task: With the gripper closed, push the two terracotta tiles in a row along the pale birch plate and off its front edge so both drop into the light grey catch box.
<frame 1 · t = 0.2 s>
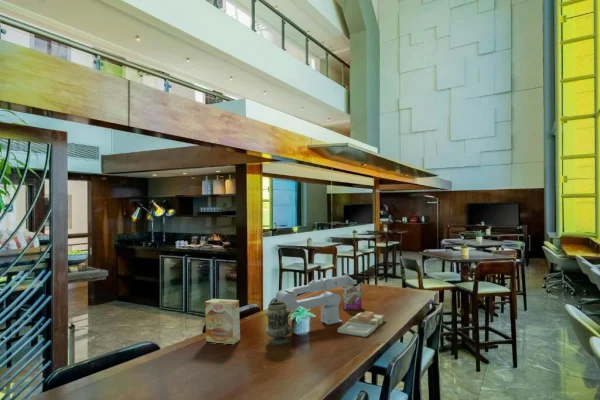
hand: (359, 277, 211), 21 cm above the table, tool horizontal, fingers open, 7 cm apart
carved stone vase: (279, 342, 173), on the table
coffeecake box: (223, 342, 176), on the table
front tile: (364, 319, 193), point 3 cm above the table, touching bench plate
back tile: (367, 316, 198), point 3 cm above the table, touching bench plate
catch box: (356, 330, 184), on the table
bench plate: (367, 323, 196), on the table
candy bar box: (352, 309, 225), on the table
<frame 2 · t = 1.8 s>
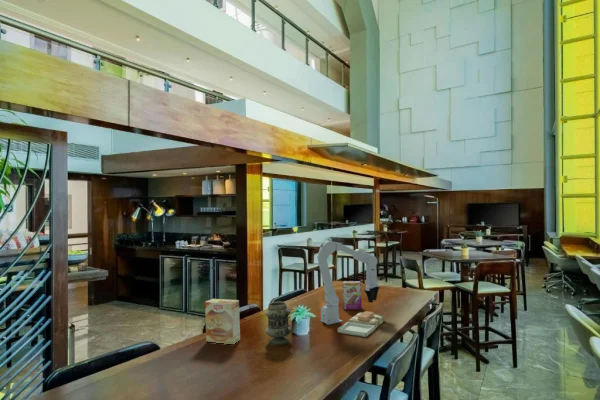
hand: (372, 301, 205), 9 cm above the table, tool pointing down, fingers open, 5 cm apart
nothing on the table moved.
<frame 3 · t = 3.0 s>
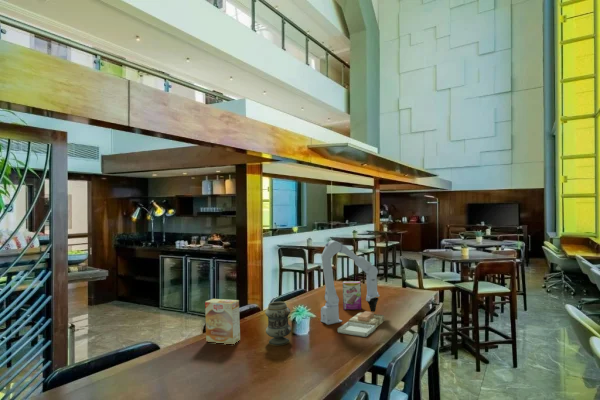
hand: (373, 311, 204), 4 cm above the table, tool pointing down, fingers closed
nothing on the table moved.
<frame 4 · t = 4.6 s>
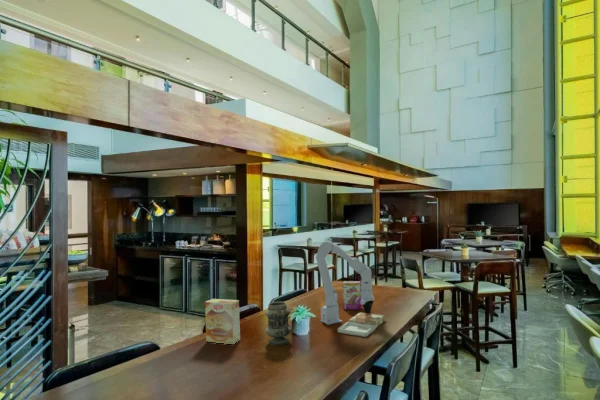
hand: (367, 315, 198), 4 cm above the table, tool pointing down, fingers closed
front tile: (361, 320, 191), point 3 cm above the table, touching back tile
back tile: (365, 318, 195), point 3 cm above the table, touching front tile, gripper
everything else where it was.
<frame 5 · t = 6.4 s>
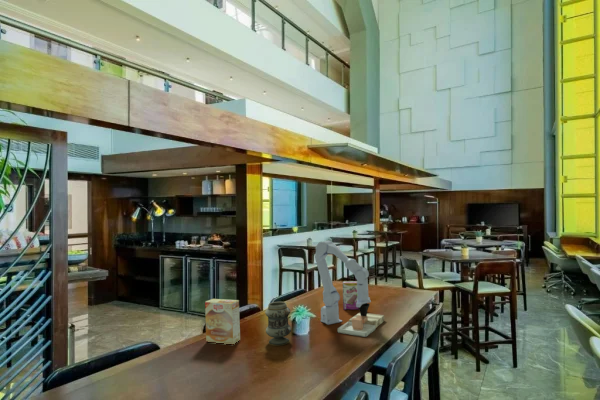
hand: (363, 317, 193), 4 cm above the table, tool pointing down, fingers closed
front tile: (358, 322, 187), point 3 cm above the table, tilted 99°, touching catch box
back tile: (361, 321, 190), point 3 cm above the table, touching gripper
everything else where it was.
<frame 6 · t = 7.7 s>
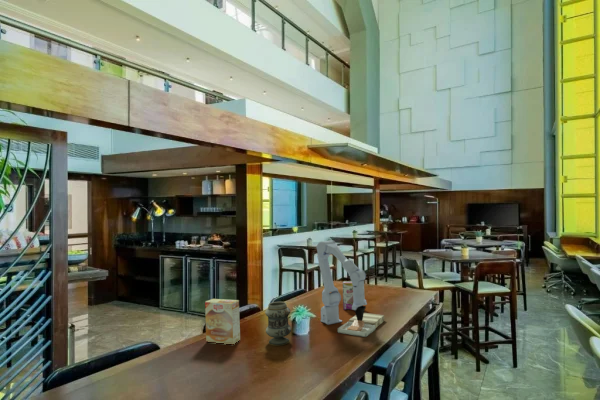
hand: (359, 320, 188), 4 cm above the table, tool pointing down, fingers closed
front tile: (353, 327, 182), point 2 cm above the table, tilted 180°, touching back tile, catch box
back tile: (358, 326, 186), point 1 cm above the table, tilted 21°, touching front tile, gripper
everything else where it was.
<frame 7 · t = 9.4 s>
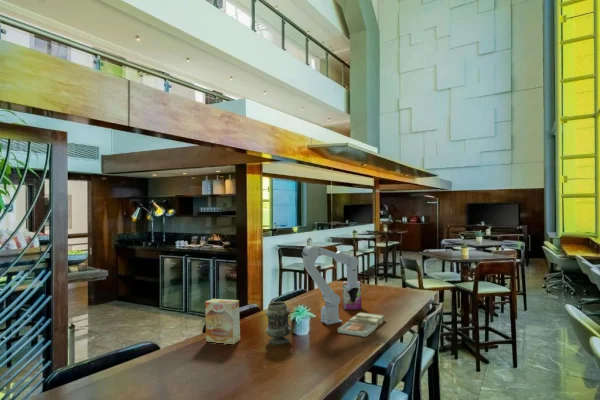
hand: (353, 301, 206), 9 cm above the table, tool pointing down, fingers closed
front tile: (353, 327, 182), point 2 cm above the table, tilted 180°, touching catch box
back tile: (358, 328, 186), resting on catch box
everything else where it was.
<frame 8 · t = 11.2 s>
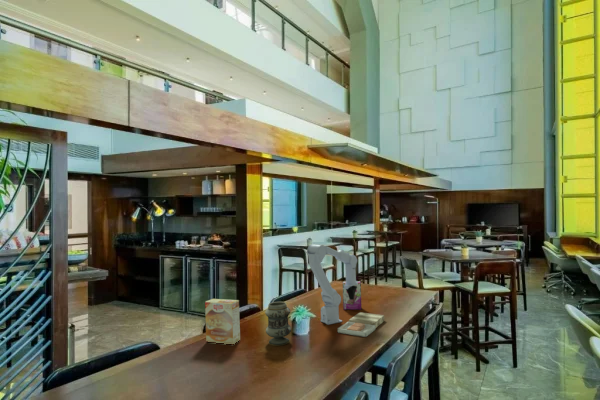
hand: (351, 299, 211), 9 cm above the table, tool pointing down, fingers closed
nothing on the table moved.
at the end: front tile inside the target area on the catch box (3.2 cm from its centre), point 2.5 cm above the catch box's base; back tile inside the target area on the catch box (2.5 cm from its centre), point 0.5 cm above the catch box's base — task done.
